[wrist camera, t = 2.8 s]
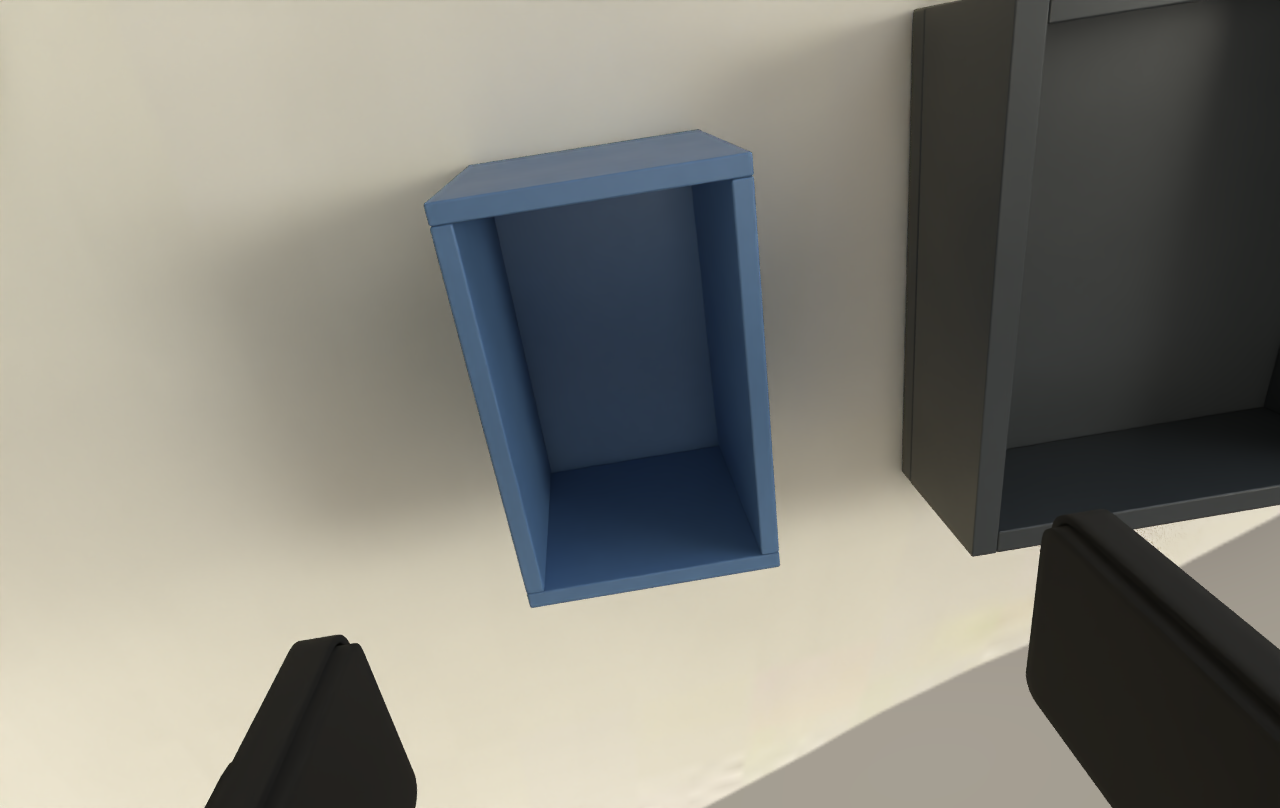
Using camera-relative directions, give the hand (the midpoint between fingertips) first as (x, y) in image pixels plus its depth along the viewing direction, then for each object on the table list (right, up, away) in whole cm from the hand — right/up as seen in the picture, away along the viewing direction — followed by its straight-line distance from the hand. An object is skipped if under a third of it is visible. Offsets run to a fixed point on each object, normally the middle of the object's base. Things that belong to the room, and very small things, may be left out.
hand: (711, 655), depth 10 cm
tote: (+15, +9, +14) cm, 22 cm away
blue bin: (-2, +6, +14) cm, 15 cm away
